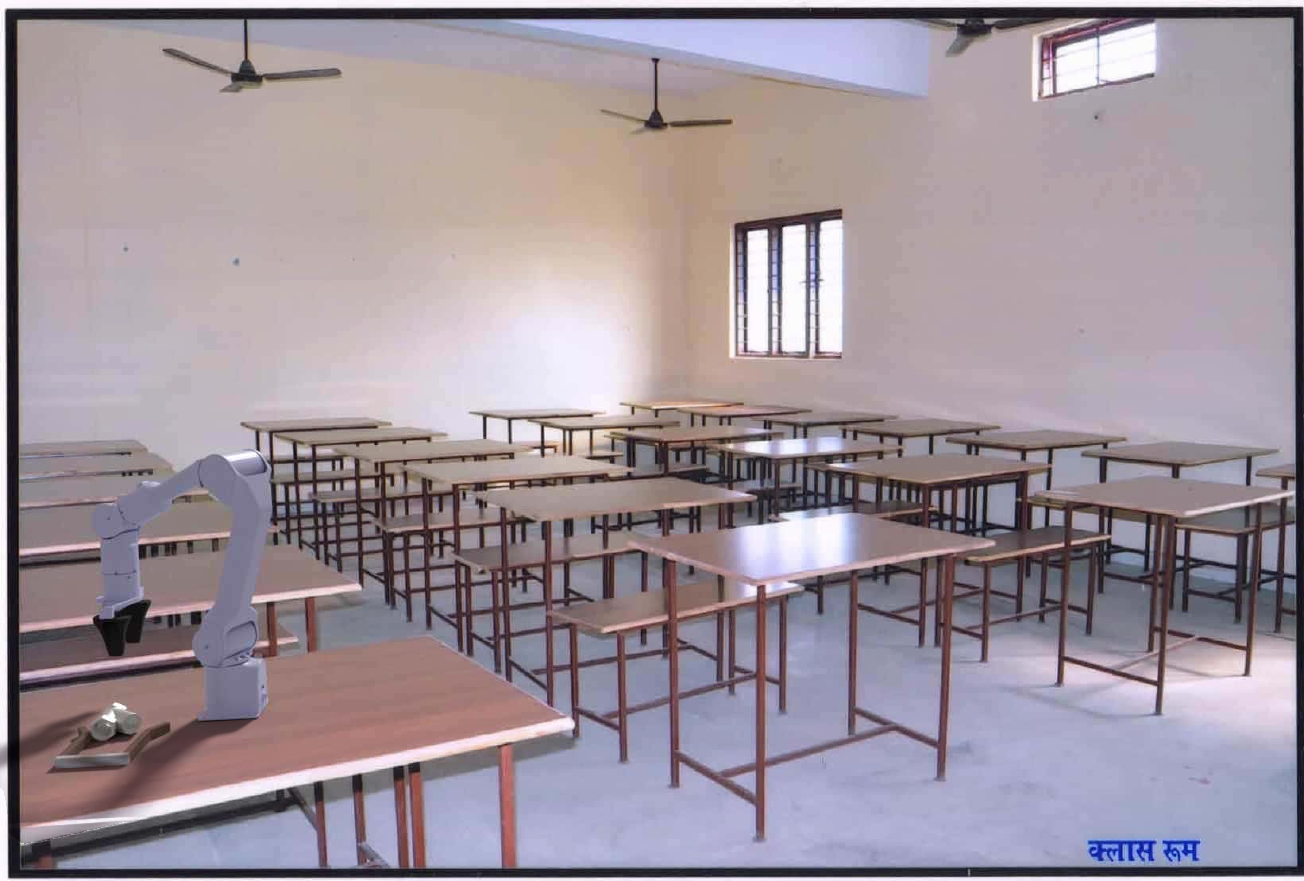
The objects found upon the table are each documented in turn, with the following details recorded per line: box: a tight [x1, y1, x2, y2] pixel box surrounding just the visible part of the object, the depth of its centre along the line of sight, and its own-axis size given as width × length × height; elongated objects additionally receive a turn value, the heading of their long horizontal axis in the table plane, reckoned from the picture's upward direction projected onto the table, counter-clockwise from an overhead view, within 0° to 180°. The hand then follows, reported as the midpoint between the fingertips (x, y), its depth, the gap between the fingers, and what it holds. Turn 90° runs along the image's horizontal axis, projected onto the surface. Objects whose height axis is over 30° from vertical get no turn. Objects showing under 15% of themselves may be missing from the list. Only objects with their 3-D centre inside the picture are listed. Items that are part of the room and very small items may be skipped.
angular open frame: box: [53, 721, 171, 769], centre depth 156 cm, size 14×13×2 cm
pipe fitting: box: [89, 702, 143, 742], centre depth 163 cm, size 8×4×7 cm
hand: (124, 649), depth 175 cm, fingers open, 7 cm apart
